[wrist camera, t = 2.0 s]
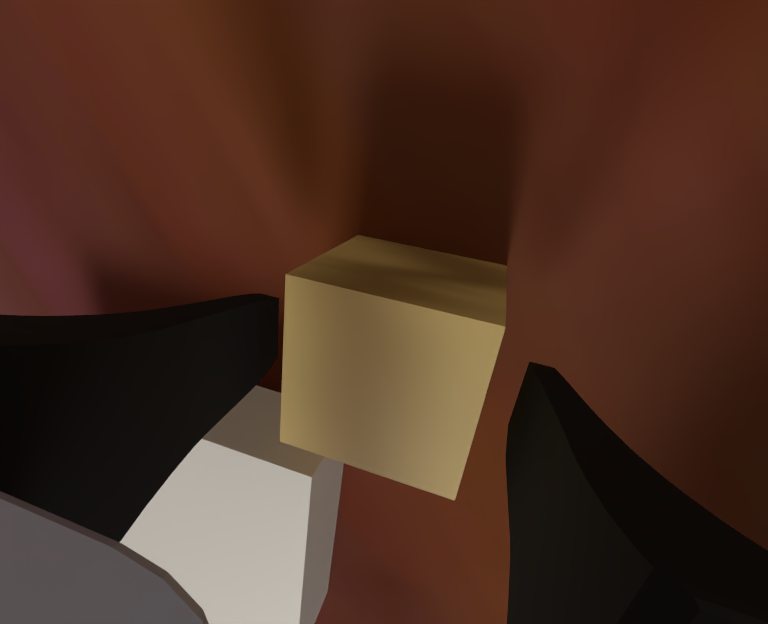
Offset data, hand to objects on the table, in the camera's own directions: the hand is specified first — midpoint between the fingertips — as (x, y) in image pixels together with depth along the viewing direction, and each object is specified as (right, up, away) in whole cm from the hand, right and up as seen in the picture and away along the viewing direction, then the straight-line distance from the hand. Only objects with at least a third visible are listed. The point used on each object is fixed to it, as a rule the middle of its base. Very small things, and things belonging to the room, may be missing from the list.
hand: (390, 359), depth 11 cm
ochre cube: (+1, +1, +3) cm, 3 cm away
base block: (-8, -7, +9) cm, 14 cm away
